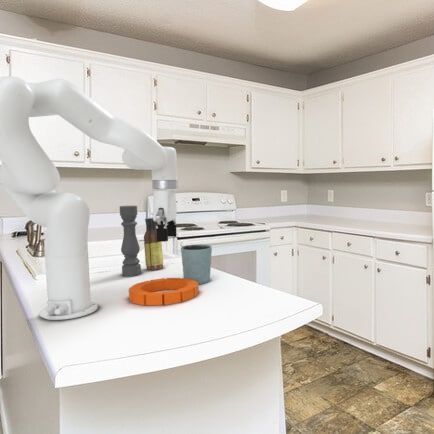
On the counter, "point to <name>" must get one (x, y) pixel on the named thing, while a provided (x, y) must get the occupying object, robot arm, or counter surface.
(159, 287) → the ring
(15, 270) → the counter surface
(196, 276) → the blue-grey plant pot
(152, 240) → the sauce bottle
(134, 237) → the candle holder
